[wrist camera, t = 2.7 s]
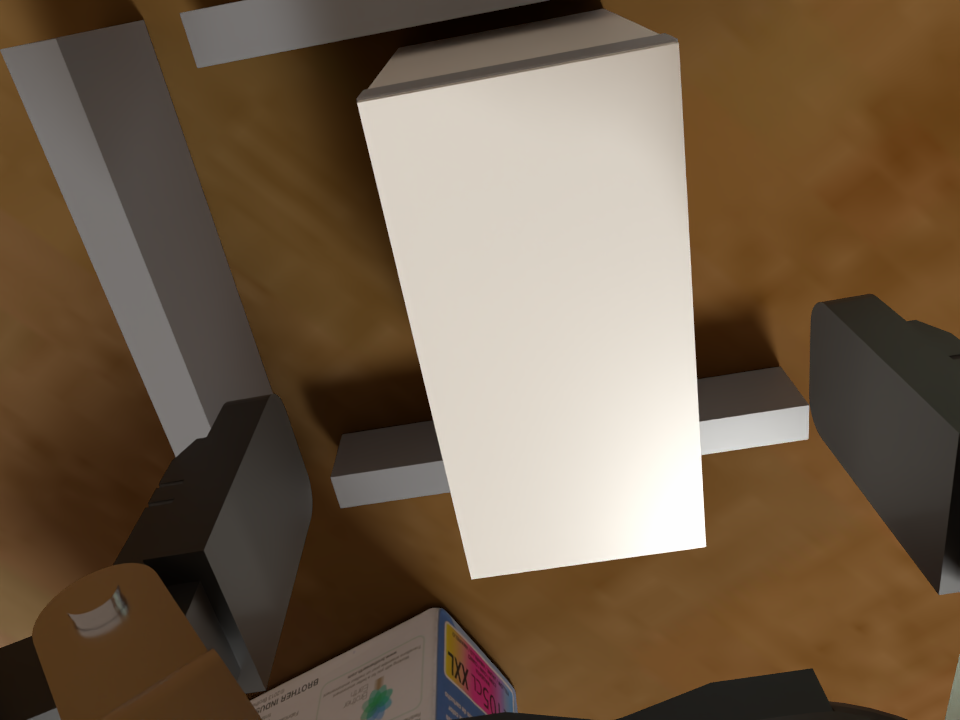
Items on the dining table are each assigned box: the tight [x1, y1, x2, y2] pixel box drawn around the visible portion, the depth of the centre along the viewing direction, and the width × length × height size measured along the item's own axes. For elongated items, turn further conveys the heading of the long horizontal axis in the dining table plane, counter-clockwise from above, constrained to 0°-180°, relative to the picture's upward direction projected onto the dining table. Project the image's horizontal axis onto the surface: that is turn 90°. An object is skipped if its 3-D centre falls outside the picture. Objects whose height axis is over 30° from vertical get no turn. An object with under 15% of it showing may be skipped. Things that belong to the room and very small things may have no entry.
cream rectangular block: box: [357, 9, 706, 579], centre depth 16 cm, size 5×9×7 cm, turn 10°
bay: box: [0, 0, 809, 508], centre depth 17 cm, size 14×12×4 cm
